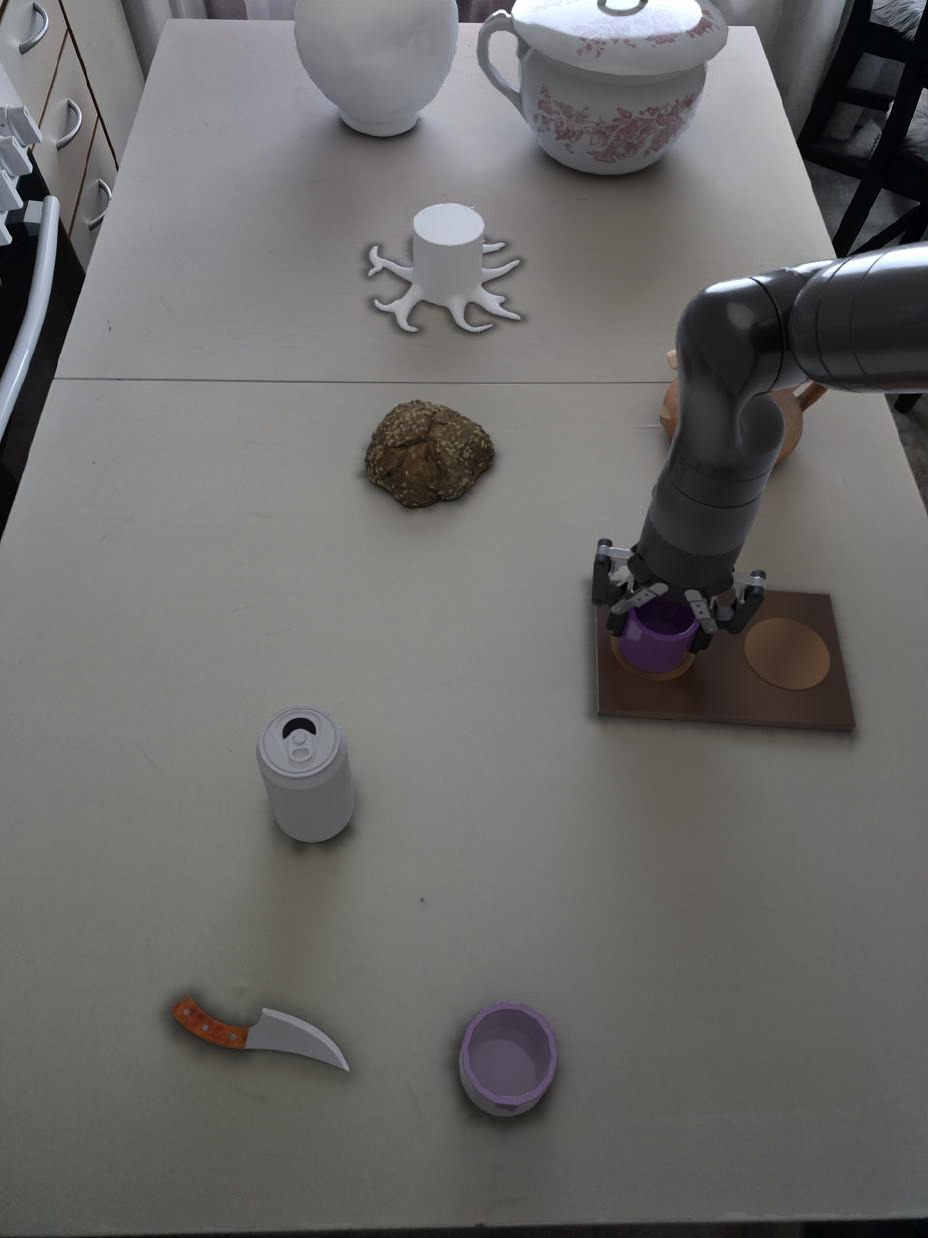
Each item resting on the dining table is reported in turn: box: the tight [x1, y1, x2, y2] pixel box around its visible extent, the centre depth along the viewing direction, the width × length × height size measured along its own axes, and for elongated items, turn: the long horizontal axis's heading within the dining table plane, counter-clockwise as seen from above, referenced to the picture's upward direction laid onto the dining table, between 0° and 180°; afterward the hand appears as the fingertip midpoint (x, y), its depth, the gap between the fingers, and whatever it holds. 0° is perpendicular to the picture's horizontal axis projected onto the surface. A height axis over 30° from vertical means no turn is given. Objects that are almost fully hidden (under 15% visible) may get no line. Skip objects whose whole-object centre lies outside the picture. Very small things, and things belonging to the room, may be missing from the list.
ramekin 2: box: [618, 599, 700, 674], centre depth 84 cm, size 6×6×5 cm
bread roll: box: [364, 398, 496, 508], centre depth 97 cm, size 13×12×5 cm
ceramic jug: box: [659, 349, 830, 466], centre depth 97 cm, size 18×14×14 cm
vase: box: [293, 0, 460, 138], centre depth 124 cm, size 19×21×30 cm
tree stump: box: [368, 201, 521, 333], centre depth 113 cm, size 20×19×8 cm
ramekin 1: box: [458, 1000, 559, 1118], centre depth 65 cm, size 6×6×5 cm
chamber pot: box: [475, 0, 730, 176], centre depth 126 cm, size 28×28×21 cm
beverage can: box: [255, 704, 356, 843], centre depth 72 cm, size 6×6×12 cm
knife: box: [170, 997, 351, 1073], centre depth 67 cm, size 13×1×3 cm
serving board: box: [594, 579, 856, 732], centre depth 87 cm, size 22×14×1 cm, turn 87°
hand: (655, 637), depth 85 cm, fingers closed on ramekin 2, 6 cm apart
